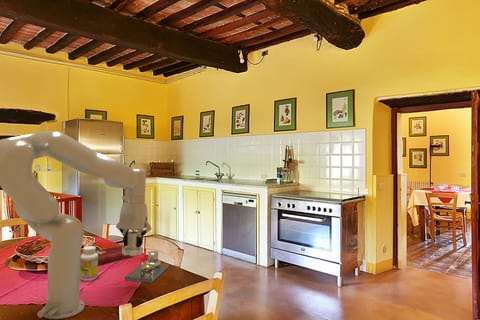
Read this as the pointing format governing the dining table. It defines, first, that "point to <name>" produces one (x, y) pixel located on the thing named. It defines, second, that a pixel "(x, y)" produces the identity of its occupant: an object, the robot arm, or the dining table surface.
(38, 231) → the robot arm
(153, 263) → the carrier
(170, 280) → the dining table surface
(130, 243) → the grey flanged socket
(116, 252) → the hardcover book
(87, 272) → the supplement bottle
